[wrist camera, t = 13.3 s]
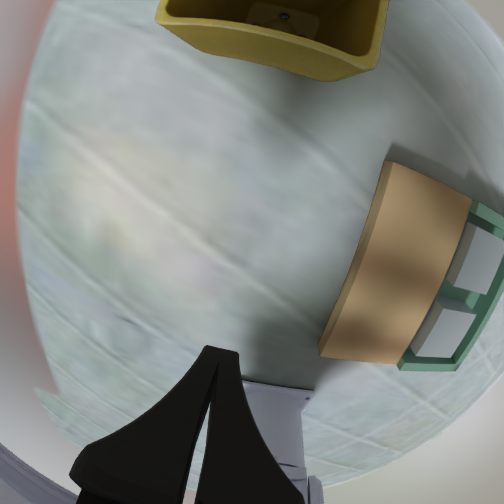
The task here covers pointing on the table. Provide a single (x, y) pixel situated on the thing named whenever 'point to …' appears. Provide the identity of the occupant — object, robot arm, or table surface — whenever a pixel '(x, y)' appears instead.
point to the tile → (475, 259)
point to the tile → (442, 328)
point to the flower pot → (284, 32)
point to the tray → (474, 300)
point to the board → (395, 267)
